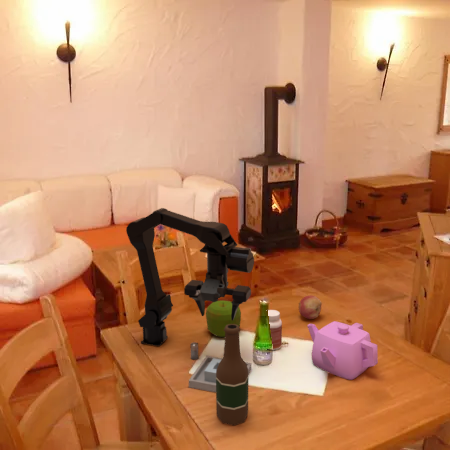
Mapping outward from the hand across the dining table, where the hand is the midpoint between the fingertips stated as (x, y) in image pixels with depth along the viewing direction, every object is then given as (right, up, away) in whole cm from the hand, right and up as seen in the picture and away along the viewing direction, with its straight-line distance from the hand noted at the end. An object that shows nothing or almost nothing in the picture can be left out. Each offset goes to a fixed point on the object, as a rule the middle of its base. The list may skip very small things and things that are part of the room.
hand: (217, 317), depth 151 cm
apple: (+2, -8, +17) cm, 19 cm away
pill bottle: (+16, -10, +8) cm, 21 cm away
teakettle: (+35, -13, -3) cm, 37 cm away
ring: (+1, -14, -9) cm, 17 cm away
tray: (+1, -15, -9) cm, 18 cm away
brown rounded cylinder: (-7, -12, +1) cm, 14 cm away
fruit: (+31, -5, +27) cm, 41 cm away
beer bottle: (+4, -20, -25) cm, 32 cm away
